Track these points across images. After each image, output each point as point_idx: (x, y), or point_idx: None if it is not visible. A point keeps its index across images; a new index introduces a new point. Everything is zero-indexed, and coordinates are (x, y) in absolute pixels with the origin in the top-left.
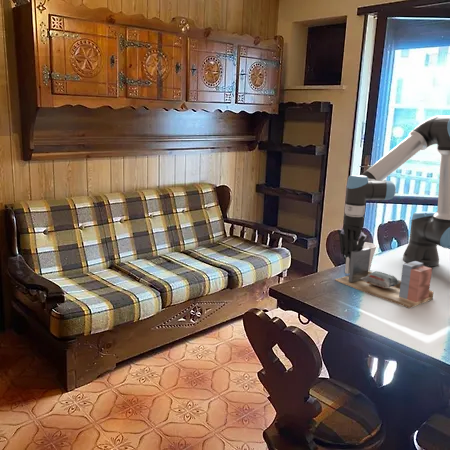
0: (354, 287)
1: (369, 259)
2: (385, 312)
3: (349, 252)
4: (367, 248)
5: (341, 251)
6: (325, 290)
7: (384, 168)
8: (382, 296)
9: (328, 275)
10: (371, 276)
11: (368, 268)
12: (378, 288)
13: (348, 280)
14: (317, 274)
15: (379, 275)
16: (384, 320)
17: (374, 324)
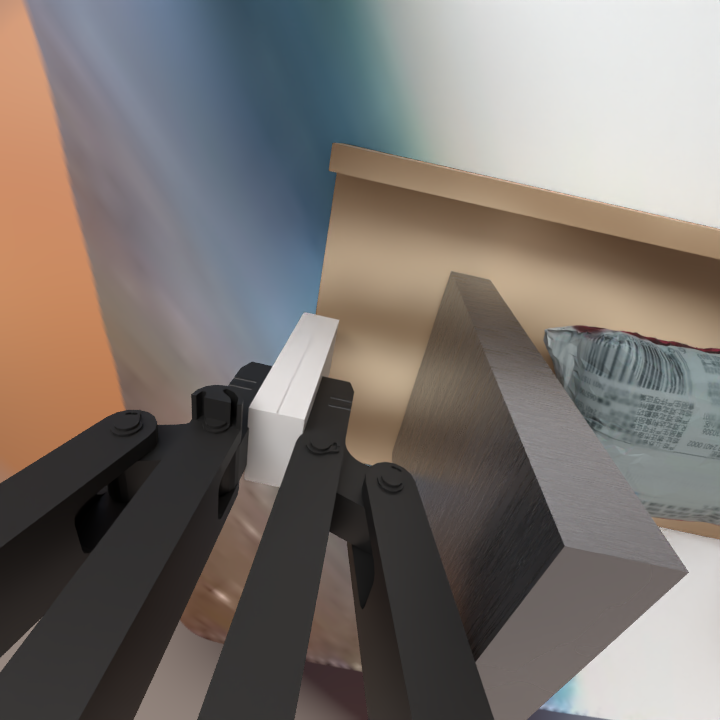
0: None
1: (560, 387)
2: (678, 627)
3: (211, 469)
4: (584, 584)
5: (113, 504)
6: (343, 563)
7: None
8: (661, 522)
9: (187, 355)
10: None
11: (516, 321)
12: None
13: (376, 419)
14: (131, 387)
15: (687, 515)
16: (676, 674)
17: (639, 700)
